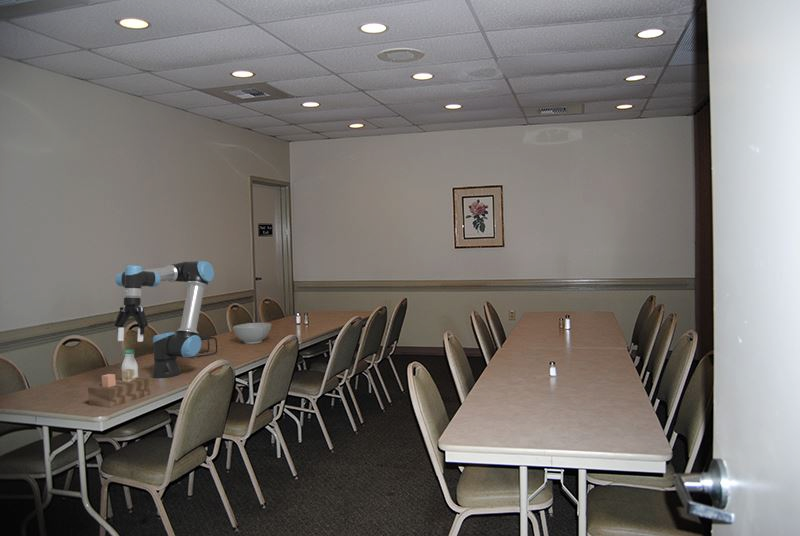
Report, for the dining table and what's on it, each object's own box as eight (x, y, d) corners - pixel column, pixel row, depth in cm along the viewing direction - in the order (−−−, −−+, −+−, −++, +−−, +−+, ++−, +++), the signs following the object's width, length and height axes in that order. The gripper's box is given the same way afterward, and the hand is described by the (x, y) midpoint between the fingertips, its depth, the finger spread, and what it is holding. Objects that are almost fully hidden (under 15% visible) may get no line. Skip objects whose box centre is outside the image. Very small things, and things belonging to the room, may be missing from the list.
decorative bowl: (277, 342, 419) (276, 325, 418) (239, 347, 406) (238, 329, 405) (265, 337, 442) (264, 321, 441) (229, 342, 429) (228, 325, 428)
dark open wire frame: (183, 356, 382) (181, 322, 381) (209, 351, 393) (207, 318, 392) (192, 358, 372) (190, 323, 371) (218, 354, 384) (216, 320, 383)
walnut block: (129, 392, 292) (128, 376, 291) (149, 394, 286) (148, 378, 285) (89, 404, 272) (88, 387, 271) (110, 407, 266) (109, 389, 266)
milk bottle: (133, 386, 303) (132, 347, 301) (141, 389, 298) (140, 350, 296) (118, 389, 296) (117, 350, 295) (126, 392, 292) (125, 352, 290)
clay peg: (110, 390, 276) (109, 373, 276) (116, 391, 275) (115, 374, 274) (102, 393, 273) (101, 375, 272) (108, 393, 271) (107, 376, 271)
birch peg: (129, 385, 286) (128, 368, 286) (135, 385, 285) (134, 369, 284) (122, 387, 283) (121, 370, 282) (128, 387, 281) (127, 371, 280)
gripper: (108, 297, 291) (105, 340, 289) (144, 296, 280) (142, 341, 278) (121, 297, 297) (119, 340, 295) (157, 297, 287) (155, 341, 285)
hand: (130, 341), depth 287 cm, fingers open, 13 cm apart
